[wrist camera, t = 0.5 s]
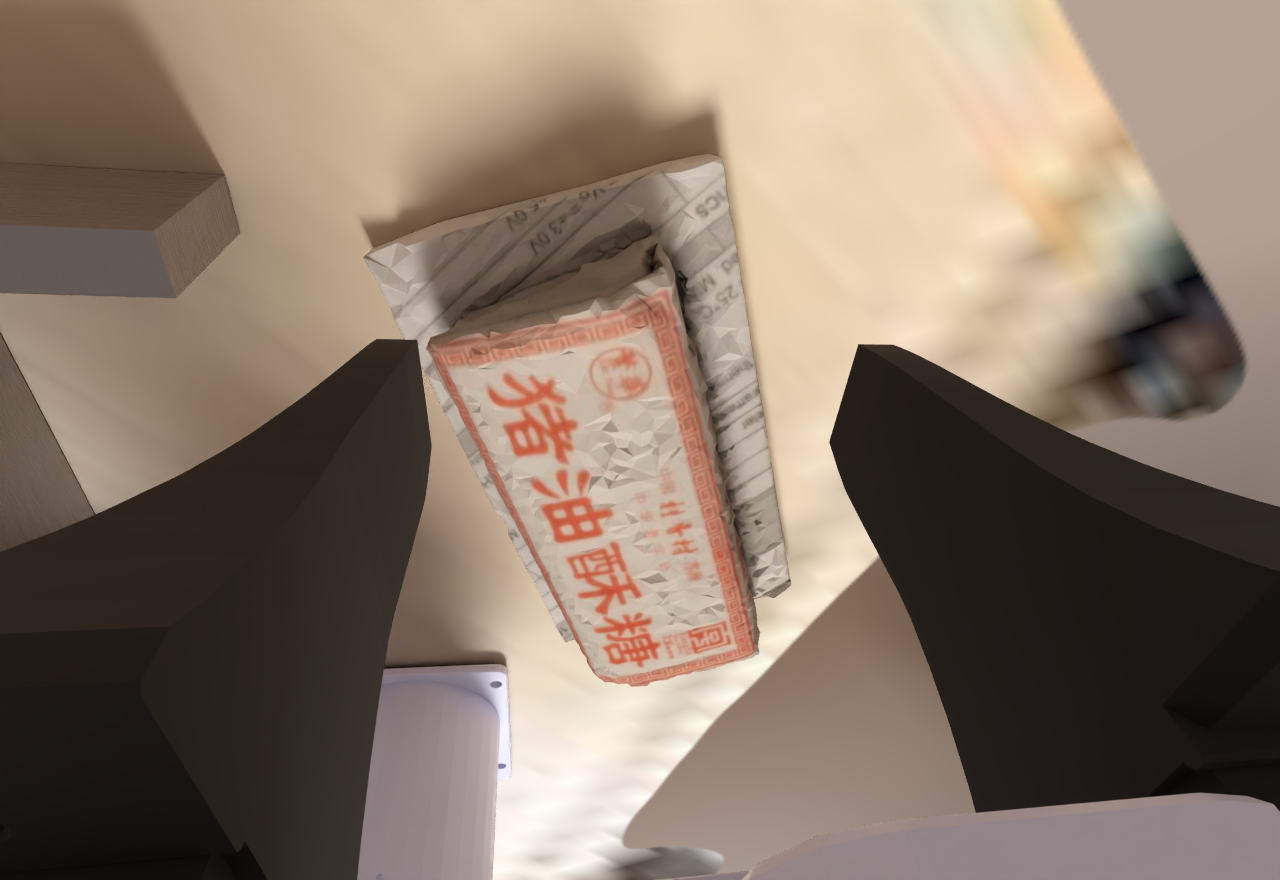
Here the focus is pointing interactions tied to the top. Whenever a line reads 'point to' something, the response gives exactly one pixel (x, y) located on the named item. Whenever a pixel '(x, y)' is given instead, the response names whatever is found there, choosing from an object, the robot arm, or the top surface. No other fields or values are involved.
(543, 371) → the packaged product
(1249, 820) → the robot arm
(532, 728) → the top surface
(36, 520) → the dark grey slab
